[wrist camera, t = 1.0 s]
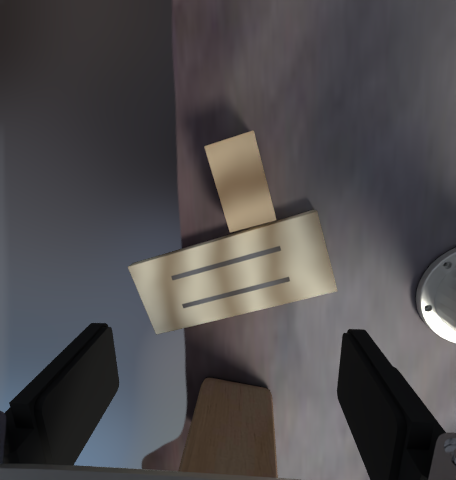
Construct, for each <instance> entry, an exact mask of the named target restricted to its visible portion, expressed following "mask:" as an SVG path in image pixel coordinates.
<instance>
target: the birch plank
mask: <svg viewBox="0 0 456 480" xmlns="http://www.w3.org/2000/svg"><path fill="white" fill-rule="evenodd" d="M128 268H129V271H130V273H131V276H132V278H133V280H134V283H135V285H136V287H137V290H138V292H139V295H140V297H141V299H142V301H143V304H144V307H145V309H146V311H147V314H148V316H149V318H150V321H151V323H152V326H153V328H154V331H155V333H156V335H157V334H161V333H165V332H170V331H174V330H178V329H182V328H186V327H190V326H195V325H199V324H203V323H207V322H211V321H215V320H219V319H224V318H228V317H232V316H236V315H240V314H244V313H249V312H253V311H257V310H261V309H265V308H269V307H274V306H278V305H282V304H286V303H290V302H294V301H298V300H303V299H307V298H311V297H315V296H319V295H323V294H328V293H332V292H336V291H337V287H336V283H335V279H334V276H333V272H332V268H331V264H330V260H329V256H328V252H327V248H326V244H325V240H324V236H323V232H322V228H321V225H320V221H319V217H318V213H317V211H316V210H311V211H308V212H304V213H301V214H297V215H294V216H291V217H287V218H284V219H281V220H277V221H274V222H270V223H267V224H264V225H260V226H257V227H254V228H250V229H247V230H243V231H240V232H237V233H233V234H230V235H227V236H223V237H220V238H216V239H213V240H210V241H206V242H203V243H199V244H196V245H193V246H189V247H186V248H183V249H179V250H176V251H172V252H169V253H166V254H163V255H159V256H156V257H152V258H149V259H145V260H142V261H139V262H135V263H133V264H131V265H130V266H128Z"/></svg>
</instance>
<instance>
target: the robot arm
mask: <svg viewBox="0 0 456 480" xmlns="http://www.w3.org/2000/svg"><path fill="white" fill-rule="evenodd" d="M416 304H417V310H418V312H419V315H420V317H421V319H422V320H423V322H424V323H425V324H426V325H427V326H428V327H429V328H430V329H431V330H432V331H433V332H434V333H436V334H437V335H438V336H440V337H442V338H444V339H446V340H448V341H450V342H454V343H456V248H454V249H452V250H449V251H448V252H446V253H445V254H443V255H441V256H440V257H439V258H438V259H436V260H435V261H434V262H433V263H432V264H431V265H430V266H429V267H428V269H427V270H426V271H425V272H424V274H423V276H422V278H421V280H420V282H419V285H418V288H417V293H416ZM118 387H119V377H118V370H117V362H116V355H115V348H114V341H113V333H112V329H111V327H108V325H107V324H106V323H91V324H90V325H89V326H88V327H87V328H86V329H85V330H84V331H83V332H82V333H81V334H80V335H79V336H78V337H77V338H75V339H74V340H73V341H72V342H71V343H70V344H69V345H68V346H67V347H66V348H65V349H64V350H63V351H62V352H61V353H60V354H59V355H58V356H57V357H56V358H55V359H54V360H53V361H52V362H51V363H50V364H49V365H48V366H47V367H46V368H45V369H44V370H43V371H42V372H41V373H40V374H38V375H37V376H36V377H35V378H34V379H33V380H32V382H30V383H29V384H28V385H27V386H26V387H25V388H24V389H23V390H22V391H21V392H20V393H19V394H18V395H17V396H16V397H15V398H14V399H13V400H12V401H11V402H10V403H9V404H10V408H9V409H8V410H7V411H6V412H5V413H3V412H2V411H0V480H299V479H285V478H271V477H256V476H242V475H226V474H210V473H195V472H179V471H162V470H146V469H128V468H110V467H92V466H75V465H74V463H75V462H76V460H77V458H78V456H79V455H80V453H81V451H82V450H83V448H84V446H85V444H86V443H87V441H88V440H89V438H90V436H91V434H92V433H93V431H94V429H95V428H96V426H97V424H98V423H99V421H100V419H101V418H102V416H103V414H104V413H105V411H106V409H107V407H108V406H109V404H110V402H111V401H112V399H113V397H114V396H115V394H116V392H117V390H118ZM337 395H338V400H339V403H340V405H341V408H342V410H343V413H344V415H345V418H346V420H347V423H348V425H349V428H350V430H351V433H352V435H353V438H354V440H355V443H356V445H357V448H358V450H359V452H360V455H361V457H362V460H363V462H364V465H365V467H366V470H367V472H368V475H369V477H370V480H456V433H446V432H445V431H444V430H443V428H442V427H441V426H440V424H439V423H438V422H437V420H436V419H435V418H434V416H433V415H432V414H431V413H430V411H429V410H428V409H427V407H426V406H425V405H424V403H423V402H422V401H421V399H420V398H419V397H418V395H417V394H416V393H415V392H414V390H413V389H412V388H411V386H410V385H409V384H408V382H407V381H406V380H405V378H404V377H403V376H402V375H401V373H400V372H399V371H398V370H397V369H396V368H395V367H393V366H392V365H391V364H390V362H389V361H388V360H387V358H386V357H385V356H384V354H383V353H382V352H381V350H380V349H379V348H378V346H377V345H376V344H375V342H374V341H373V340H372V338H371V337H370V336H369V334H368V333H367V332H366V331H365V330H360V329H349V330H348V332H347V333H344V334H343V337H342V347H341V357H340V367H339V377H338V387H337Z"/></svg>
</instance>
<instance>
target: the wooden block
mask: <svg viewBox="0 0 456 480" xmlns="http://www.w3.org/2000/svg"><path fill="white" fill-rule="evenodd" d="M179 472H195V473H210V474H226V475H242V476H256V477H271V478H278V475H277V461H276V446H275V431H274V417H273V402H272V395H271V392H270V390H268V389H267V388H263V387H258V386H252V385H247V384H242V383H236V382H231V381H225V380H220V379H215V378H205V380H204V381H203V383H202V384H201V388H200V391H199V395H198V399H197V403H196V407H195V410H194V414H193V418H192V422H191V425H190V429H189V433H188V437H187V441H186V444H185V448H184V452H183V456H182V459H181V463H180V467H179Z"/></svg>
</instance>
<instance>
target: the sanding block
mask: <svg viewBox="0 0 456 480" xmlns="http://www.w3.org/2000/svg"><path fill="white" fill-rule="evenodd" d="M204 147H205V150H206V154H207V157H208V161H209V164H210V167H211V171H212V174H213V177H214V181H215V184H216V188H217V191H218V194H219V198H220V201H221V204H222V208H223V211H224V215H225V218H226V221H227V225H228V228H229V232H234V231H238V230H242V229H245V228H249V227H253V226H257V225H260V224H264V223H268V222H272V221H275V220H276V216H275V212H274V208H273V204H272V200H271V197H270V193H269V189H268V185H267V181H266V177H265V173H264V169H263V165H262V161H261V158H260V154H259V150H258V146H257V142H256V138H255V134H254V130H253V131H250V132H247V133H244V134H241V135H238V136H235V137H232V138H228V139H225V140H222V141H219V142H216V143H213V144H210V145H207V146H204Z"/></svg>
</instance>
